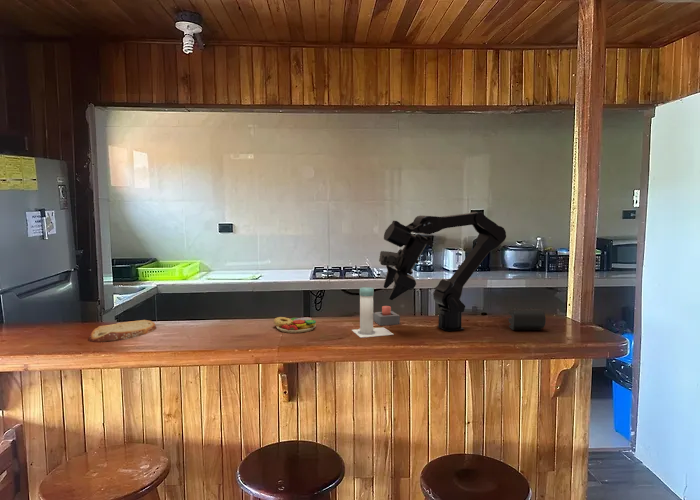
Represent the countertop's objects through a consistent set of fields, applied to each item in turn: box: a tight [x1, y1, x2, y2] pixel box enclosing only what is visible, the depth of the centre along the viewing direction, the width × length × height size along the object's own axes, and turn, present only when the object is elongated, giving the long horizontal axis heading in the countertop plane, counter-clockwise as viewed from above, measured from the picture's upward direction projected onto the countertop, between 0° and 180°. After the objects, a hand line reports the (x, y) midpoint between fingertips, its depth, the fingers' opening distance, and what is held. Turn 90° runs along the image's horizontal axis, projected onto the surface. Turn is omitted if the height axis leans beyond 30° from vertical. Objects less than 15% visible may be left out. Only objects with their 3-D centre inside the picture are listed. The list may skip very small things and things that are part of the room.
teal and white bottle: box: [359, 286, 375, 334], centre depth 156 cm, size 4×4×14 cm
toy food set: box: [273, 316, 317, 334], centre depth 163 cm, size 13×13×3 cm
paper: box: [351, 327, 395, 339], centre depth 157 cm, size 11×9×1 cm
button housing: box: [373, 310, 401, 326], centre depth 170 cm, size 7×7×3 cm
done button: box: [381, 305, 392, 316], centre depth 170 cm, size 3×3×4 cm
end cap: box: [508, 307, 547, 331], centre depth 161 cm, size 10×7×7 cm
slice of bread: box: [88, 319, 157, 343], centre depth 157 cm, size 18×18×4 cm
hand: (387, 293), depth 160 cm, fingers open, 9 cm apart
